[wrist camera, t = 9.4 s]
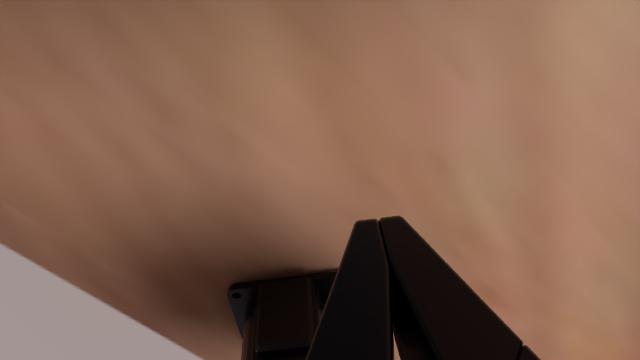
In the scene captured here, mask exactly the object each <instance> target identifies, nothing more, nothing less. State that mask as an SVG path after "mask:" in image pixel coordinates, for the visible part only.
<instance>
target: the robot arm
mask: <svg viewBox="0 0 640 360" xmlns="http://www.w3.org/2000/svg"><path fill="white" fill-rule="evenodd" d="M235 292H237V293H235ZM227 295H228V299H229V302H230V305H231V308H232V311H233V313H234V316H235V319H236V322H237V325H238V328H239V330H240V333H241V336H242V339H243V343H242V355H241V360H394V340H393V333H394V337H395V341H396V345H397V348H398V352H399V355H400V359H401V360H540V359H539V358H538V357H537V356H536V355H535V354H534V353H533V351H532V350H531V349H530V348H529V347H528V346H526V345H524V346H523V342H522V340H521V339H520V338H519V337H518V336H517V335H516V334H515V333H514V332H513V331H512V330H511V329H510V328H509V327H508V326H507V325H506V324H505V323H504V322H503V321H502V320H501V319H500V318H499V317H498V316H497V314H496V313H495V312H494V311H493V310H492V309H491V308H490V307H489V306H488V305H487V304H486V303H485V302H484V301H483V300H482V299H481V298H480V297H479V296H478V295H477V294H476V293H475V292H474V291H473V290H472V289H471V288H470V287H469V286H468V285H467V283H466V282H465V281H464V280H463V279H462V278H461V277H460V276H459V275H458V274H457V273H456V272H455V271H454V270H453V269H452V268H451V267H450V266H449V265H448V264H447V263H446V262H445V261H444V260H443V259H442V258H441V257H440V256H439V255H438V253H437V252H436V251H435V250H434V249H433V248H432V247H431V246H430V245H429V244H428V243H427V242H426V241H425V240H424V239H423V238H422V237H421V236H420V235H419V234H418V233H417V232H416V231H415V230H414V229H413V228H412V227H411V226H410V225H409V224H408V222H407V221H406V220H405V219H404V218H403V217H401V216H392V217H384V218H381V219H380V220H379V222H378V220H377V219H367V220H359V221H357V222H356V223H355V224H354V227H353V229H352V232H351V235H350V238H349V241H348V243H347V246H346V249H345V252H344V254H343V257H342V260H341V263H340V266H339V268H338V271H337V272H330V273H322V274H313V275H305V276H296V277H288V278H280V279H271V280H263V281H254V282H246V283H238V284H233V285H231V286H229V288H228V294H227Z"/></svg>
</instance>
